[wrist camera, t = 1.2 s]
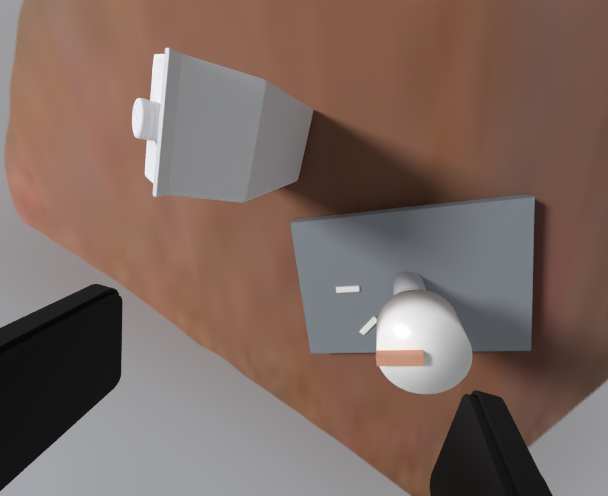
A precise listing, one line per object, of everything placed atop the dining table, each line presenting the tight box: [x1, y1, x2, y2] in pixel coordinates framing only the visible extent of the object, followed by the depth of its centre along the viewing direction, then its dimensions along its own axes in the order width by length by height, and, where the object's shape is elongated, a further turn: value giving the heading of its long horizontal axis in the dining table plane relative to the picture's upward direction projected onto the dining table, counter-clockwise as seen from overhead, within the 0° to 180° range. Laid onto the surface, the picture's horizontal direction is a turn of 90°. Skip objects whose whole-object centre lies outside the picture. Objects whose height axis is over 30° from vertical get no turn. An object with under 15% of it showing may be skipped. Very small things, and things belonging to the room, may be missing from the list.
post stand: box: [290, 194, 535, 353], centre depth 31 cm, size 22×15×10 cm
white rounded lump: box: [376, 289, 472, 394], centre depth 24 cm, size 6×6×5 cm
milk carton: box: [132, 48, 313, 203], centre depth 26 cm, size 7×7×19 cm
